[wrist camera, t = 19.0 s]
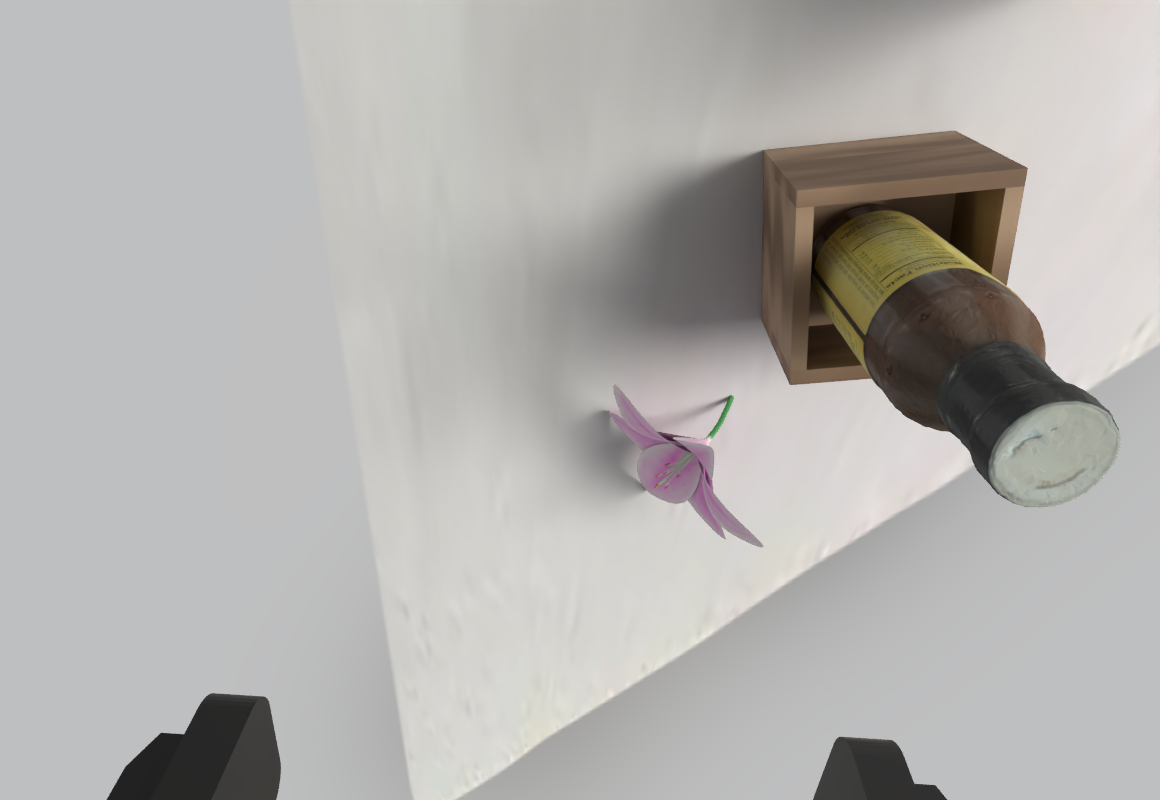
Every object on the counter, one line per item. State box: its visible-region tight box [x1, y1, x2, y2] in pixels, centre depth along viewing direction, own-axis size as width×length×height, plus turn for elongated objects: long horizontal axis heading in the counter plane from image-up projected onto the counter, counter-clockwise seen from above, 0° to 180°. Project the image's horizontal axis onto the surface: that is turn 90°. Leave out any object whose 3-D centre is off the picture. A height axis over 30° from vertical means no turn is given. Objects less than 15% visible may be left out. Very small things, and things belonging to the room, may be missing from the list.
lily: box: [608, 385, 764, 547], centre depth 48 cm, size 12×12×10 cm
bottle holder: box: [762, 131, 1028, 385], centre depth 41 cm, size 10×10×8 cm
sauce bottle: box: [811, 204, 1120, 507], centre depth 33 cm, size 6×6×20 cm
